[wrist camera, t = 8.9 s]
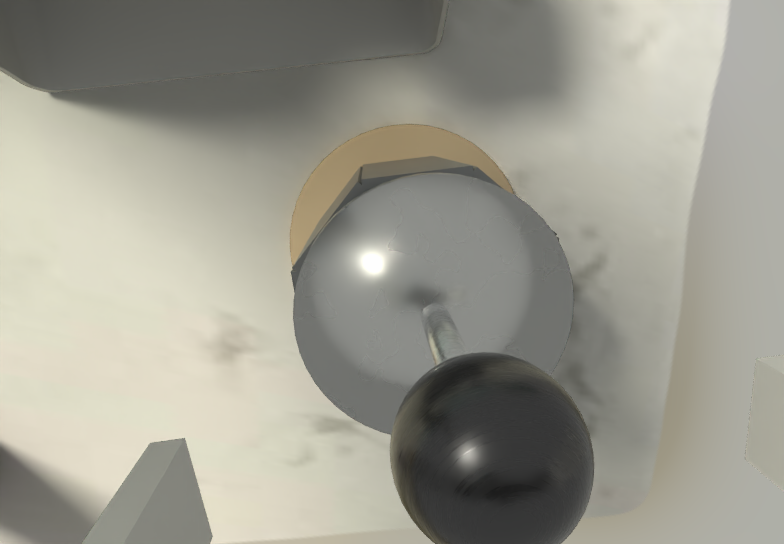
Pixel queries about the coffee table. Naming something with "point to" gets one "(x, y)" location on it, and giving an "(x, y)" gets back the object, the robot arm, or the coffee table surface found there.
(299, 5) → the grey notched holder
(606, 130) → the coffee table surface
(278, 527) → the coffee table surface
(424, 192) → the plunger
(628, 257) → the coffee table surface
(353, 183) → the grey faceted container
